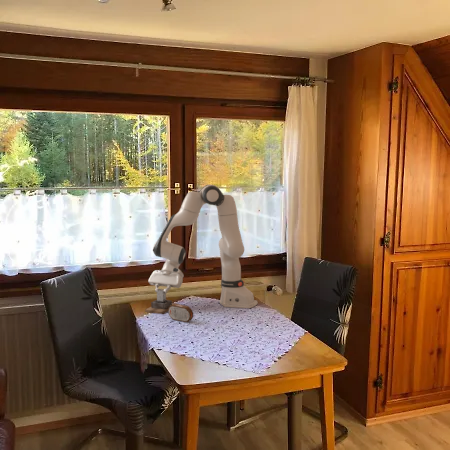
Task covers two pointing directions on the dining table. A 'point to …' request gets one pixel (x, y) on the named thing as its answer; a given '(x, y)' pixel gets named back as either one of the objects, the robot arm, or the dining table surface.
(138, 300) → the dining table surface
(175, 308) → the tin
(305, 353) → the dining table surface
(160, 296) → the key block
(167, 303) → the socket board
